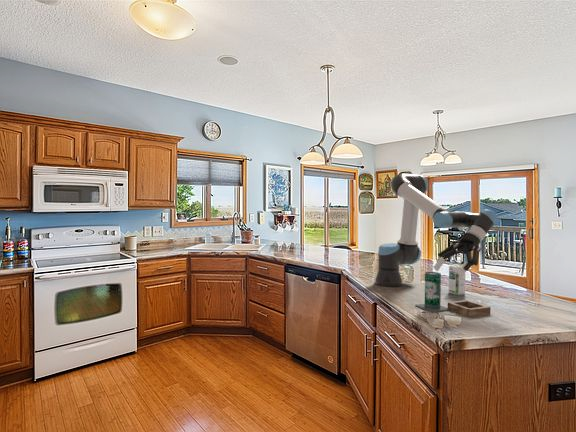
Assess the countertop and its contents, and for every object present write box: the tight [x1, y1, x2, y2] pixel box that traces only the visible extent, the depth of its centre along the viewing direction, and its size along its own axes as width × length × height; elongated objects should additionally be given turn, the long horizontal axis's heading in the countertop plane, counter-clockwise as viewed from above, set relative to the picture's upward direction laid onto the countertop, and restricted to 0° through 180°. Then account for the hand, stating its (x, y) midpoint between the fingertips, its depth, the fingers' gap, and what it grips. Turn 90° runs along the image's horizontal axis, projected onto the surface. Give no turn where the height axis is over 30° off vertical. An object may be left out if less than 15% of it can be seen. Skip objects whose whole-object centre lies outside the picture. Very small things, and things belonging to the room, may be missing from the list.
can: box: [424, 271, 442, 309], centre depth 145 cm, size 6×6×15 cm
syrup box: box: [448, 264, 466, 296], centre depth 170 cm, size 6×6×14 cm
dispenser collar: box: [447, 299, 491, 318], centre depth 140 cm, size 11×11×3 cm
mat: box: [414, 303, 451, 314], centre depth 145 cm, size 10×10×1 cm
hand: (446, 272), depth 146 cm, fingers open, 13 cm apart
